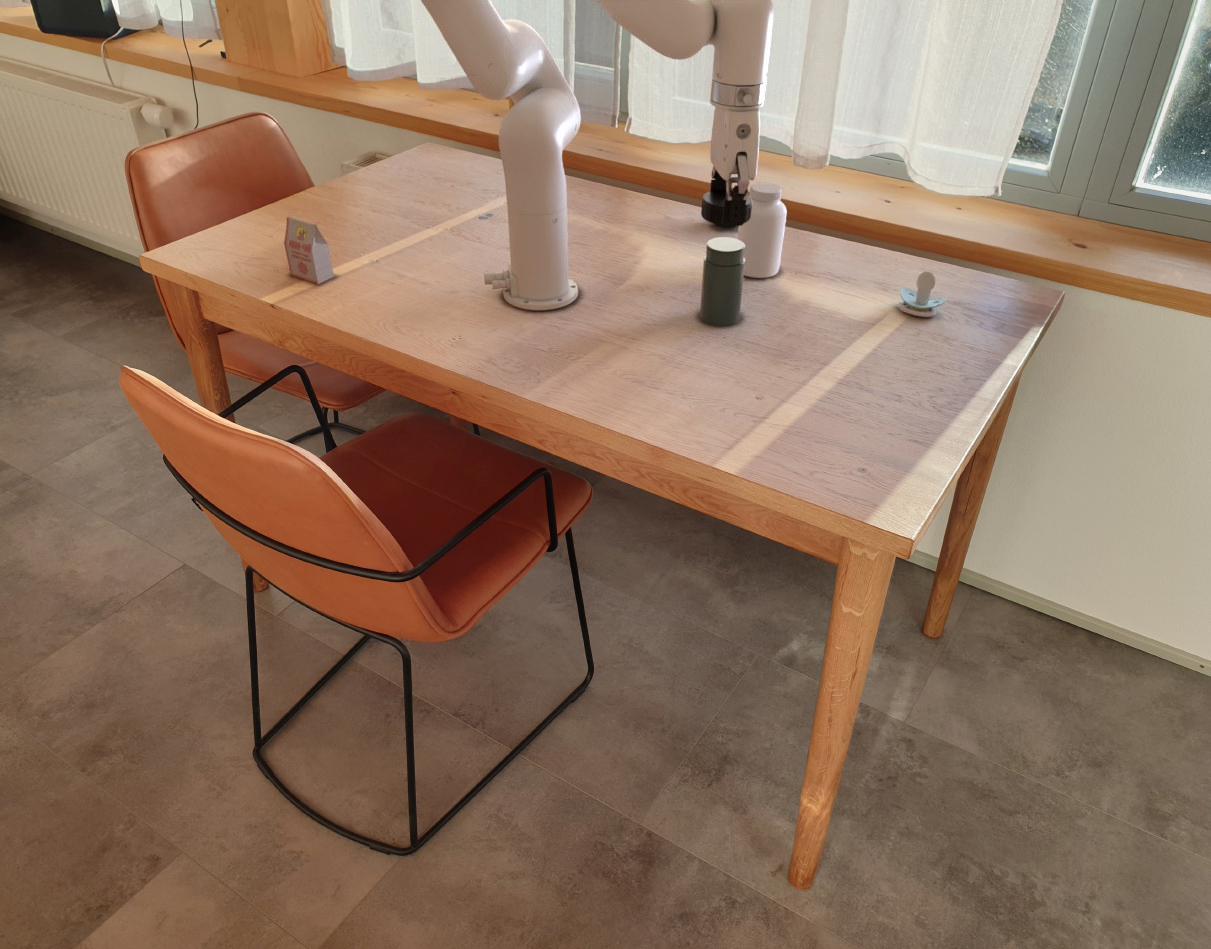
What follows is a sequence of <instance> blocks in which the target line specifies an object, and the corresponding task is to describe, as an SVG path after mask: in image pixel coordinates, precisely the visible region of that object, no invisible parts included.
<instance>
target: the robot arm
mask: <svg viewBox="0 0 1211 949" xmlns="http://www.w3.org/2000/svg"><path fill="white" fill-rule="evenodd" d="M420 1H421V3H422V4H423V6H424V7H425V9H426V11H427V12H428V13H429V15H430V17H431V19H432V20H433V21H434V23H435V25H436V27H437V28H438V30H439V31H440V32H439V33H440V34H441V36H442V37H443V40H445V42H446V44H447V45H448V47H449V49H450V50H451V52H452V54H453V56H454V57H455V58H456V61H457V62H458V64H459V65H460V67H461V68H462V70H463V72H464V74H465V76H466V77H467V79H468V80H469V82H470V83H471V85H472V87H473V89H474V90H475V91H476V92H477V93H479V95H480V96H482V97H484V98H485V99H487V100H492V101H500V100H503V99H506V98H508V97H510V99H511V101H512V102H513V104H514V105H513V106H511V107H510V109H509V110H508V111H507V112H506V114H505V115H504V117H503V118H502V120H501V123H500V127H499V131H498V147H499V148H498V149H499V155H500V157H501V164H502V169H503V173H504V174H503V175H504V181H505V194H506V195H505V196H506V207H507V208H506V209H507V222H508V240H509V241H508V242H509V257H510V264H508V265H507V266H508V269H505V270H502V272H483V278H484V285H485V286H489V285H491V286H492V290H501V289H502V294H503V299H504V300H505V301H506V302H507V303H508V304H509V305H511V306H513V307H516V308H518V309H523V310H528V311H549V310H550V311H551V310H556V309H561V308H562V307H566V306H568V305H570V304H572V303H573V302H574V301H575V300H576V299H577V298H578V296H579V287H578V284H577V283H576V282H575V281H574V280H573V279H571V278H570V277H569V243H568V242H569V233H568V232H569V230H568V194H567V193H568V192H567V180H566V174H565V169H564V168H565V167H564V163H563V151H564V149H565V148H567V146H568V145H569V144H570V143H571V142H572V141H573V139H574V138H575V137H576V135H577V134H578V132H579V130H580V127H581V123H582V122H581V121H582V114H581V107H580V104H579V102H578V100H577V97H576V96H575V93H574V92H573V90H572V88H571V86H570V84H569V82H568V80H567V78H566V77H565V75H564V74H563V72H562V71H561V68H560V67H559V65H558V63H557V61H556V60H555V57H554V56H553V54H552V53H551V52H552V51H550V49H549V47H548V45H547V44H546V42H545V40H544V39H543V38H542V37H541V35H540V34H539V33H538V32H537V31H536V30H535V29H534V27H532V26H531V25H530V24H527V23H526V22H524V21H522V20H519V19H514V18H513V19H504V20H503V19H502V17H501V16H500V14H499V12H498V11H497V9H496V8H495V6H494V3H493V2H492V1H491V0H420ZM594 1H595V2H596V3H597V5H599V6H600V7H601V8H602V9H603V10H604V11H605V13H606V14H607V15H609V17H611V19H612V20H613V21H614V22H615V23H617V24H618V25H619V26H621V28H623V29H624V30H625V31H627V32H628V33H629V34H630V35H632V36H633V37H635V38H636V39H638V40H639V41H640V42H642V43H644V44H645V45H646V46H647V47H649V48H651V49H652V50H654V51H655V52H656V53H659V54H660V55H662V56H664V57H665V58H668V59H672V60H678V61H679V60H681V61H682V60H686V59H691V58H692V57H694V56H696V55H697V54H698V53H699V52H700V51H701V50H702V49H703V48H704V47H706V46H711V45H712V46H713V48H714V49H713V50H714V51H713V61H712V62H713V63H712V74H711V75H712V76H711V85H710V86H711V87H710V100H709V103H710V105H711V106H713V107H714V111H713V121H712V128H711V137H710V138H711V139H710V149H709V150H710V151H709V152H710V153H709V154H710V155H709V156H710V158H709V159H710V162H711V164H712V170H711V179H710V187H709V188H710V190H709V192H710V191H715V190H726V194H727V199H724V205H723V216H722V224H723V226H742V225H743V224H744V216H745V207H746V200H747V195H748V192H749V186H750V181H755V179H756V178H757V176H758V163H759V152H760V150H759V149H760V133H761V131H760V130H761V129H760V128H761V117H760V116H761V115H760V109H761V108H763V106H764V104H765V103H764V102H765V94H766V86H767V76H768V68H769V60H770V59H769V58H770V50H771V42H772V32H773V24H774V17H775V16H774V15H775V6H774V3H773V1H772V0H594ZM732 175H737V176H733V177H732ZM733 184H736V185H734V186H733Z"/></svg>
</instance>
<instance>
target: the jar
mask: <svg viewBox="0 0 1211 949" xmlns="http://www.w3.org/2000/svg"><path fill="white" fill-rule="evenodd" d="M705 248H706V249H705V255H704V256H703V263H702V264H703V266H702V277H701V278H702V280H701V295H700V307H699V308H700V309H699V318H700V320H701V321H702V322H704V323H705V324H708V325H711V326H718V327H727V326H732V325H734V324H736V323H738V322H739V320H740V315H741V306H742V296H743V286H744V276H745V275H744V266H745V258H744V257H743V256H744V249H745V244H744V243H743V242H742V241H740V240H738V239H737V238H735V237H730V236H729V237H728V236H718V237H714V238H711V239H709V240H707V242H706V244H705Z"/></svg>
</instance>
